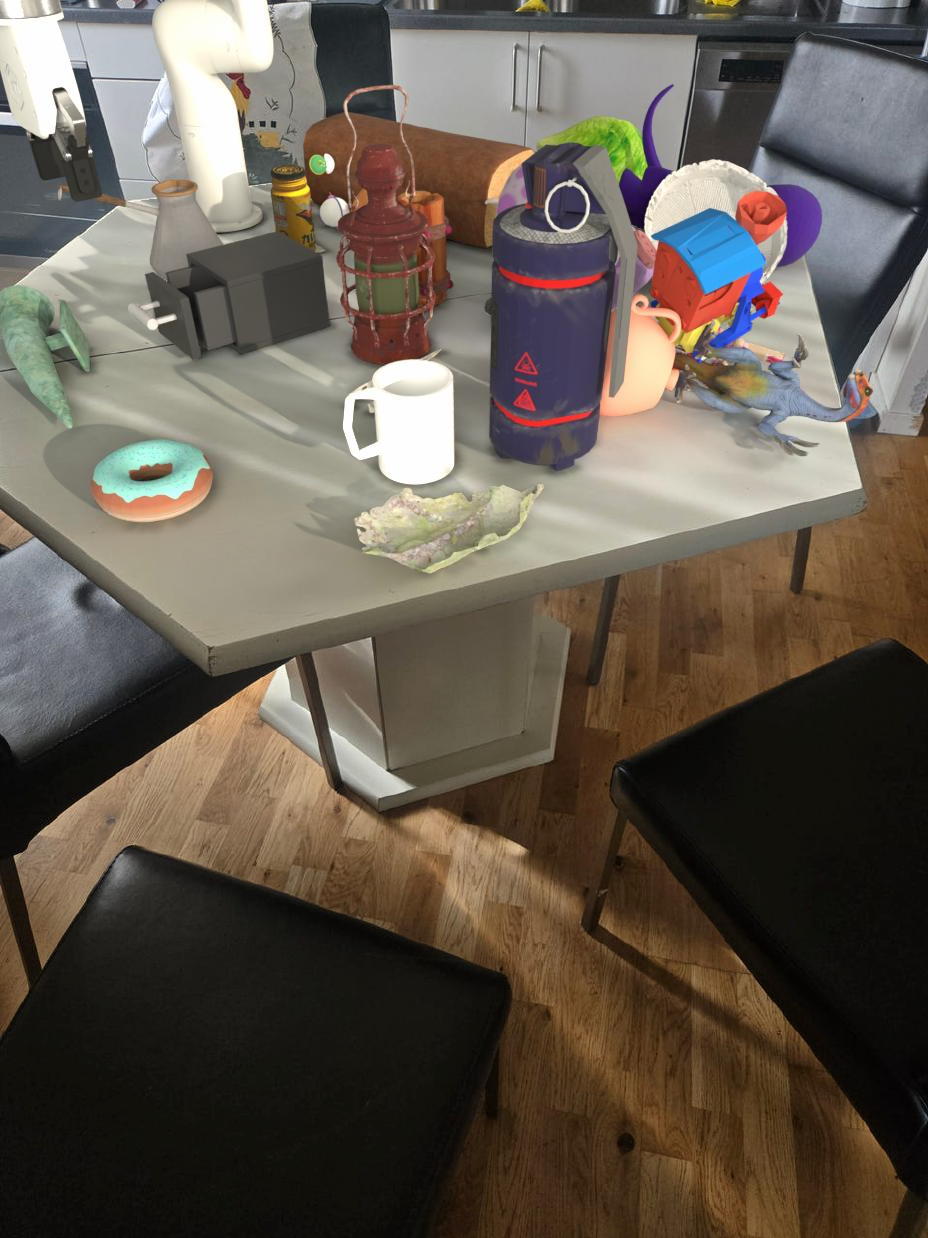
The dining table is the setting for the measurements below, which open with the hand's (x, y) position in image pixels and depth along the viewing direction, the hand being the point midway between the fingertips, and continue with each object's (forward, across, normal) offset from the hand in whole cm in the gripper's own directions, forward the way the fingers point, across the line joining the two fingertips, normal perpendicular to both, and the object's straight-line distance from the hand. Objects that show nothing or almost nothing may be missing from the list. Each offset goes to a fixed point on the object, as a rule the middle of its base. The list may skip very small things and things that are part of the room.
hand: (71, 187), depth 99 cm
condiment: (+21, -21, +38) cm, 48 cm away
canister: (+22, +48, +30) cm, 61 cm away
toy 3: (+10, +8, +83) cm, 84 cm away
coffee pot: (+21, -22, +16) cm, 35 cm away
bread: (+21, -21, +63) cm, 69 cm away
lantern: (+21, +17, +30) cm, 41 cm away
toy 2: (+17, +17, +72) cm, 76 cm away
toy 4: (+20, +54, +62) cm, 85 cm away
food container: (+12, +32, +75) cm, 82 cm away
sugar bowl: (+14, +44, +39) cm, 60 cm away
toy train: (+14, +48, +55) cm, 74 cm away
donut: (+22, +30, -8) cm, 38 cm away
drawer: (+20, 0, +12) cm, 24 cm away
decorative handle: (+21, +19, +52) cm, 59 cm away
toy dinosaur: (+14, +53, +46) cm, 72 cm away
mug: (+21, +6, +40) cm, 46 cm away
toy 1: (+17, -30, +50) cm, 60 cm away
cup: (+22, +41, +14) cm, 49 cm away
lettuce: (+6, -4, +90) cm, 90 cm away
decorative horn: (+21, +11, -15) cm, 28 cm away
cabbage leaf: (+18, +61, +12) cm, 65 cm away
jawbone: (+22, +25, +26) cm, 42 cm away
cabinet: (+21, 0, +20) cm, 30 cm away
